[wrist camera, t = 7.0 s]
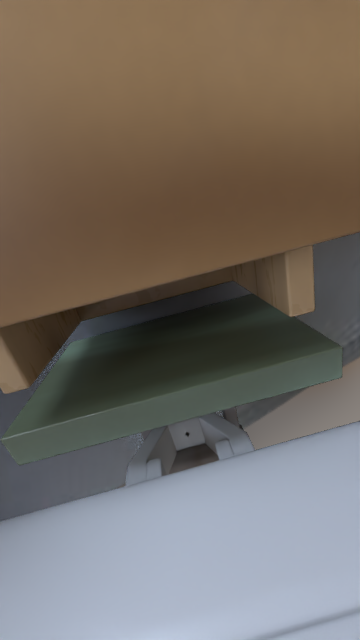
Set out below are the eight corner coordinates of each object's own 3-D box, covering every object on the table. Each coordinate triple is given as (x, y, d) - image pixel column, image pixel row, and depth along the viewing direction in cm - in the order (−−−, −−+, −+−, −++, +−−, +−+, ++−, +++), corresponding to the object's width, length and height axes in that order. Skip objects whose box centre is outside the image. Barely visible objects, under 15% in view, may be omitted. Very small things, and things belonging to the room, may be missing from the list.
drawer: (268, 388, 16) (341, 489, 10) (112, 431, 16) (85, 561, 10) (221, 26, 10) (353, -368, 3) (-45, 94, 9) (-442, -177, 3)
